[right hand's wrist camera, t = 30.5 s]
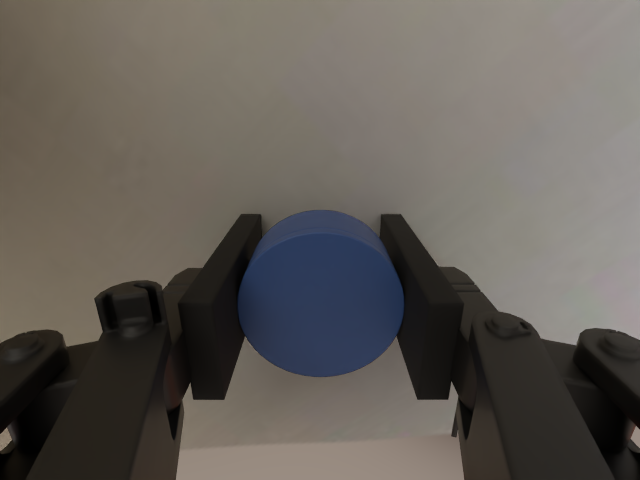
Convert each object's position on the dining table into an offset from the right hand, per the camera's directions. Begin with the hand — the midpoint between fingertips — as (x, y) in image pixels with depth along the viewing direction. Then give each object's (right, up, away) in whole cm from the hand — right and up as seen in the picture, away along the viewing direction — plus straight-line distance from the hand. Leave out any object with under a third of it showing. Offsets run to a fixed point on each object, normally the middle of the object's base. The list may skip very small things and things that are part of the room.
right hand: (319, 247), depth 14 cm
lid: (0, -2, -4) cm, 4 cm away
